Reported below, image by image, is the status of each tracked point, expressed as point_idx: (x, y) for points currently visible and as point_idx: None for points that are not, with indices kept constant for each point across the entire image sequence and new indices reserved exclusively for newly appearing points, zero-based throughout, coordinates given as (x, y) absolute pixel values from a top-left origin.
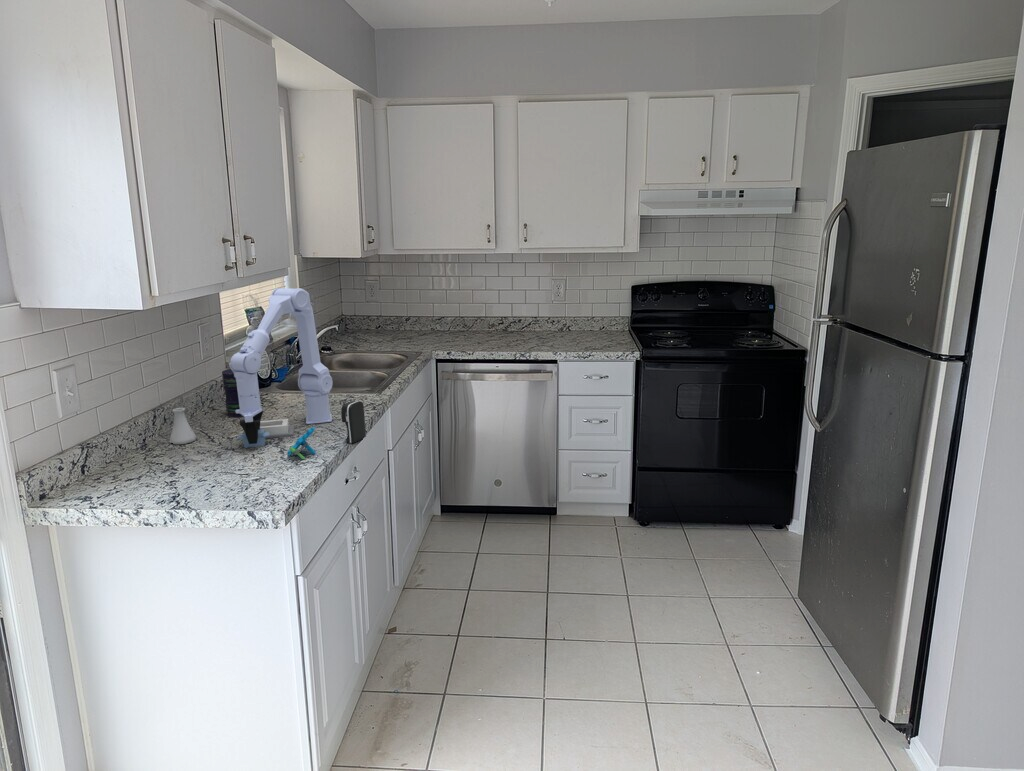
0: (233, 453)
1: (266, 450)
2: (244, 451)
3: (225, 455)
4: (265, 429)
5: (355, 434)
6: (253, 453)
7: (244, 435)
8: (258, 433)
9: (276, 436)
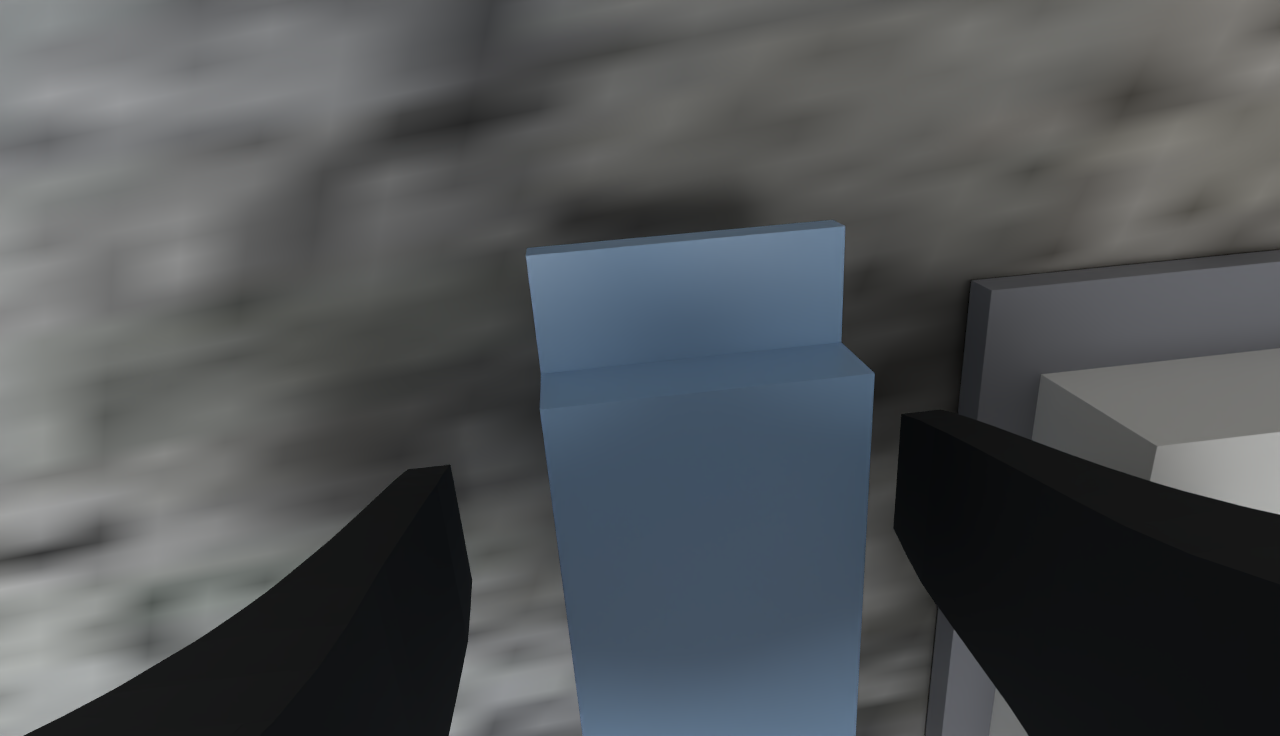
0: (180, 172)
1: None
2: (291, 359)
3: (42, 19)
4: None
5: None
6: (152, 528)
7: (546, 440)
8: (580, 711)
9: (938, 688)
